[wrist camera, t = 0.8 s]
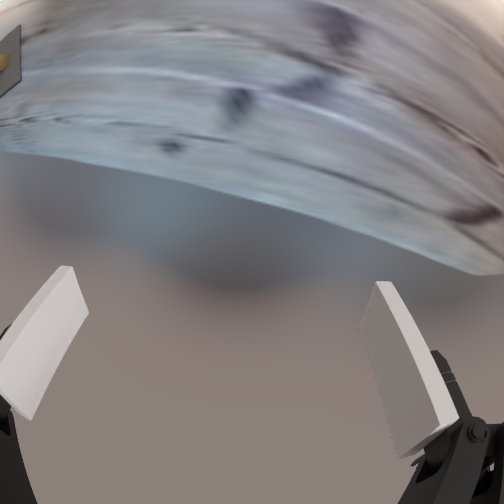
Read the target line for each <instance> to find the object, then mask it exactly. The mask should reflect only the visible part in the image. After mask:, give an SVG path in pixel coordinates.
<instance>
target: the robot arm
mask: <svg viewBox="0 0 504 504" xmlns="http://www.w3.org/2000/svg"><path fill="white" fill-rule="evenodd" d="M88 314H89V312H88V309H87V306H86V304H85V301H84V299H83V296H82V293H81V291H80V288H79V285H78V282H77V279H76V276H75V273H74V270H73V267H72V266H60V267H59V268H58V269H57V270H56V271H55V272H54V274H53V275H52V276H51V277H50V278H49V279H48V280H47V281H46V283H45V284H44V285H43V286H42V287H41V288H40V290H39V291H38V292H37V293H36V294H35V295H34V297H33V298H32V299H31V300H30V302H29V303H28V304H27V306H26V307H25V308H24V309H23V310H22V312H21V313H20V314H19V316H18V317H17V318H16V319H15V321H14V322H13V323H12V324H10V325H9V326H8V327H7V328H6V329H5V330H4V331H3V333H2V334H1V336H0V504H37V501H36V499H35V496H34V494H33V491H32V488H31V485H30V482H29V479H28V476H27V473H26V470H25V466H24V463H23V459H22V455H21V452H20V447H19V443H18V438H17V433H16V429H15V423H14V417H13V414H12V412H11V411H10V408H11V406H12V407H13V408H14V409H15V410H16V411H17V412H18V413H19V414H20V415H22V416H23V417H25V418H27V419H29V420H31V421H32V418H33V416H34V414H35V412H36V409H37V407H38V405H39V403H40V401H41V399H42V397H43V394H44V392H45V390H46V388H47V386H48V384H49V382H50V380H51V378H52V376H53V375H54V373H55V371H56V369H57V367H58V365H59V363H60V361H61V359H62V358H63V356H64V354H65V352H66V350H67V349H68V347H69V345H70V343H71V342H72V340H73V338H74V337H75V335H76V333H77V332H78V330H79V328H80V327H81V325H82V323H83V322H84V320H85V318H86V317H87V315H88ZM359 332H360V335H361V338H362V341H363V344H364V346H365V350H366V353H367V355H368V359H369V362H370V365H371V368H372V371H373V374H374V377H375V381H376V384H377V387H378V390H379V394H380V397H381V401H382V404H383V408H384V411H385V415H386V418H387V422H388V426H389V430H390V434H391V438H392V441H393V446H394V450H395V454H396V458H397V459H401V458H404V457H408V456H411V455H414V454H416V453H417V452H419V451H420V450H421V449H423V448H424V451H425V454H424V455H422V456H421V457H419V458H418V459H416V460H415V461H414V462H413V463H412V464H411V466H414V465H416V464H417V463H419V464H418V466H417V467H416V471H415V472H414V475H413V476H412V478H411V481H410V482H409V484H408V486H407V488H406V490H405V492H404V494H403V495H402V497H401V499H400V501H399V502H398V504H504V422H503V423H502V424H486V423H485V421H484V420H482V419H481V418H479V417H473V416H472V415H471V413H470V411H469V408H468V406H467V404H466V402H465V399H464V397H463V394H462V392H461V390H460V388H459V385H458V383H457V382H456V381H455V380H456V379H455V377H454V375H453V373H451V369H450V367H449V365H448V363H447V361H446V359H445V358H444V357H443V356H442V355H441V354H440V353H439V352H438V351H437V350H435V351H429V349H428V347H427V345H426V343H425V341H424V339H423V337H422V335H421V333H420V331H419V330H418V328H417V326H416V324H415V322H414V321H413V319H412V317H411V315H410V313H409V311H408V310H407V308H406V306H405V304H404V303H403V301H402V299H401V297H400V296H399V294H398V292H397V291H396V289H395V287H394V286H393V284H392V282H380V281H379V282H377V281H376V282H375V285H374V288H373V291H372V294H371V296H370V299H369V302H368V305H367V308H366V310H365V313H364V316H363V318H362V321H361V324H360V326H359ZM493 463H494V470H492V471H490V465H492V464H493Z"/></svg>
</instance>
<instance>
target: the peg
mask: <svg viewBox="0 0 504 504" xmlns="http://www.w3.org/2000/svg"><path fill="white" fill-rule="evenodd" d="M9 62H10V55H9V54H0V70H5V69H6V68H7V67H8V65H9Z"/></svg>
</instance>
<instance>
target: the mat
mask: <svg viewBox="0 0 504 504" xmlns="http://www.w3.org/2000/svg"><path fill="white" fill-rule="evenodd" d="M20 31H21V25H18V26H17V27H16V28H15V29H14V30H13V31H11V32H10V33H9V34H8V35H7V36H6V37H5V38H4V39H3V40H1V41H0V54H9V55H10V62H9V65H8V67H7V68H6V69H5V70H0V97H1V96H2V95H3V94H5V93H6V92H7V91H8V90H9V89H11V88H12V87H13V86H14V85H15V84H17V83H18V82H19V81H21V80H22V79H21V62H20Z"/></svg>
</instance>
